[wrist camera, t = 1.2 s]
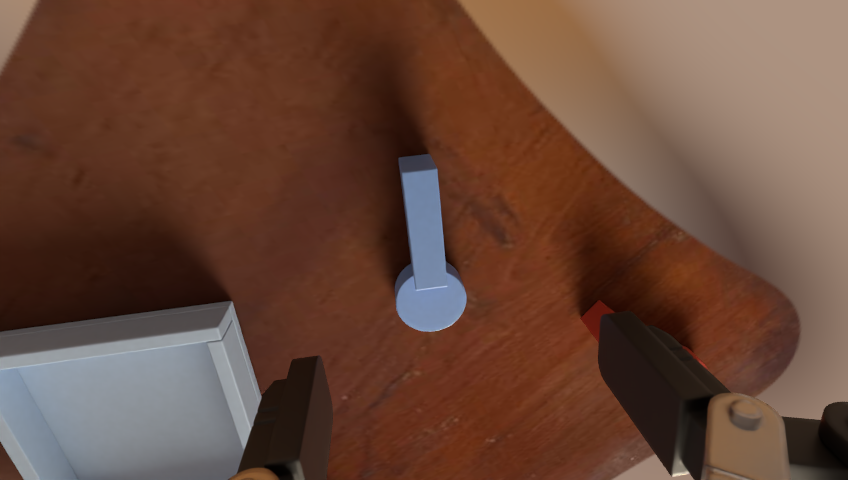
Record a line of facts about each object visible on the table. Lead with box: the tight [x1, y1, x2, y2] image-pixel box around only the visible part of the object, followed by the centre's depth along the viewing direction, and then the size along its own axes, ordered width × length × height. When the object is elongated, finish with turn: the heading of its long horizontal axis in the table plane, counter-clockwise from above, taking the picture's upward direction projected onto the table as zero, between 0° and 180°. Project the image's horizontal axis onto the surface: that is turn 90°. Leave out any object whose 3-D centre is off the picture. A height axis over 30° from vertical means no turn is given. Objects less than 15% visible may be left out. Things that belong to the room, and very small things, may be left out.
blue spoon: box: [395, 154, 466, 331], centre depth 23 cm, size 10×4×3 cm, turn 6°
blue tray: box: [0, 301, 262, 480], centre depth 26 cm, size 15×13×3 cm
